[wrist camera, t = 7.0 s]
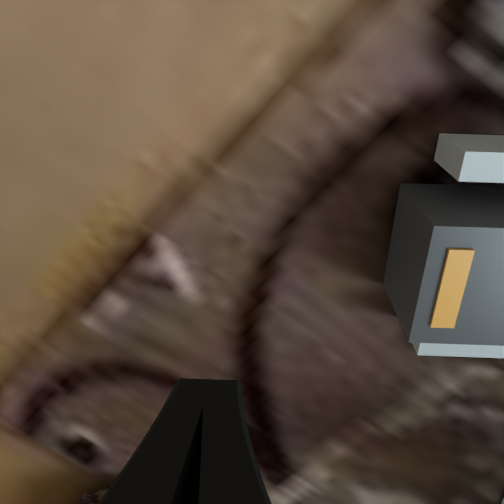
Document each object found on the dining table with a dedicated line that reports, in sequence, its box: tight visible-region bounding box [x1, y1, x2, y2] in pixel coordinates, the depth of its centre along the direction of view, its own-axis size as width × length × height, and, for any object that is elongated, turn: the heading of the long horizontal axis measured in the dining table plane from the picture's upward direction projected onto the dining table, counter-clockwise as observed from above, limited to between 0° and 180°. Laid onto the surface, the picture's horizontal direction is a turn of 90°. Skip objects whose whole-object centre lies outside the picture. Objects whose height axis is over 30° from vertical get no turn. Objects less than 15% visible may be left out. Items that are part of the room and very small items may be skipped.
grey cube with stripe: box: [383, 183, 504, 346], centre depth 17 cm, size 4×7×4 cm, turn 89°
